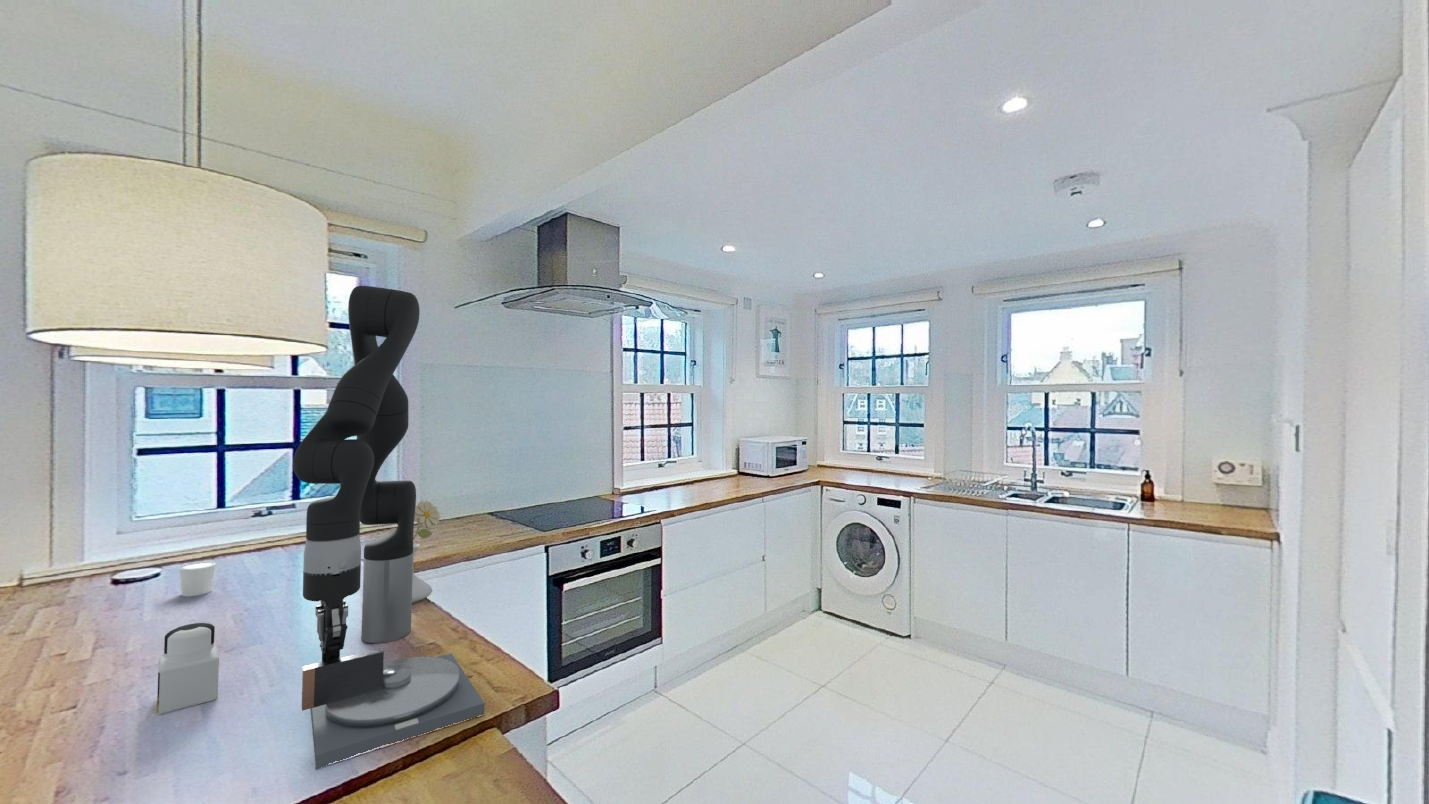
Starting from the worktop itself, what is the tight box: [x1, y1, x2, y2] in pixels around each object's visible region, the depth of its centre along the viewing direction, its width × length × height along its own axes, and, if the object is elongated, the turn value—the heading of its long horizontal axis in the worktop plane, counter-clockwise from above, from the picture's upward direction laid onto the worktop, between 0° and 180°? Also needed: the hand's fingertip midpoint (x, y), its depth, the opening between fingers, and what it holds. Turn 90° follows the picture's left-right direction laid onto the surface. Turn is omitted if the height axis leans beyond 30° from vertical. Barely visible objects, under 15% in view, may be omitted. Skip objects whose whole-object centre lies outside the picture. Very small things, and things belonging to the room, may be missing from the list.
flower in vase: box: [412, 500, 441, 603], centre depth 139 cm, size 13×11×25 cm
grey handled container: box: [156, 622, 220, 716], centre depth 91 cm, size 7×7×12 cm
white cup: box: [179, 561, 217, 597], centre depth 140 cm, size 7×7×7 cm
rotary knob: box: [301, 648, 459, 726], centre depth 89 cm, size 22×19×8 cm
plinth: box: [310, 652, 485, 770], centre depth 89 cm, size 22×22×2 cm
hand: (330, 672), depth 86 cm, fingers closed
